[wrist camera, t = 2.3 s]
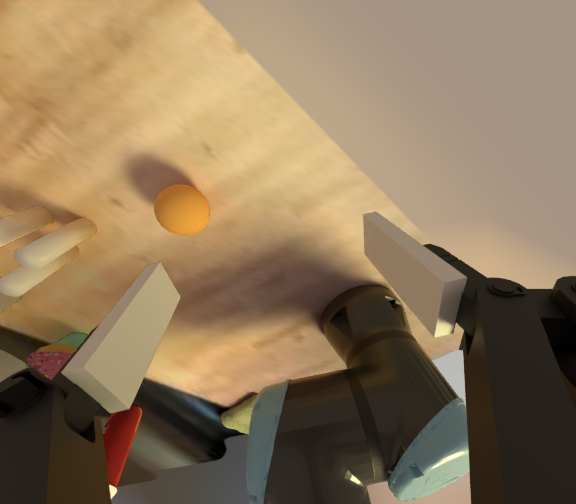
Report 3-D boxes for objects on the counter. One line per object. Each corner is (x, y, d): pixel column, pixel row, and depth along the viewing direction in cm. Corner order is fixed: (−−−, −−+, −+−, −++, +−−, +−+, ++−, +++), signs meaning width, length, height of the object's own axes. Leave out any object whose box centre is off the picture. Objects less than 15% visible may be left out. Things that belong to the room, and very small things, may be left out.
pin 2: (71, 239, 30) (11, 276, 23) (83, 255, 31) (29, 293, 24) (54, 244, 30) (-12, 281, 23) (66, 258, 31) (7, 298, 24)
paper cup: (103, 403, 47) (49, 498, 35) (141, 399, 48) (101, 490, 36) (117, 422, 51) (72, 514, 39) (152, 417, 52) (119, 506, 40)
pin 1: (44, 204, 28) (-33, 232, 20) (58, 222, 29) (-10, 254, 22) (25, 208, 28) (-59, 238, 20) (39, 226, 29) (-35, 260, 22)
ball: (203, 174, 28) (191, 185, 23) (220, 218, 31) (212, 237, 26) (156, 185, 28) (133, 198, 23) (177, 228, 31) (161, 249, 26)
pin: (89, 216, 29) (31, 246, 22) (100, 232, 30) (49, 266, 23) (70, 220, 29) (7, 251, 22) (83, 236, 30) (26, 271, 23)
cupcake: (40, 331, 37) (-47, 411, 26) (91, 319, 37) (24, 395, 26) (74, 362, 41) (12, 443, 31) (120, 352, 41) (73, 429, 31)
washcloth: (265, 432, 63) (266, 447, 60) (218, 411, 55) (216, 426, 52) (303, 413, 60) (305, 427, 57) (259, 387, 52) (258, 402, 49)
